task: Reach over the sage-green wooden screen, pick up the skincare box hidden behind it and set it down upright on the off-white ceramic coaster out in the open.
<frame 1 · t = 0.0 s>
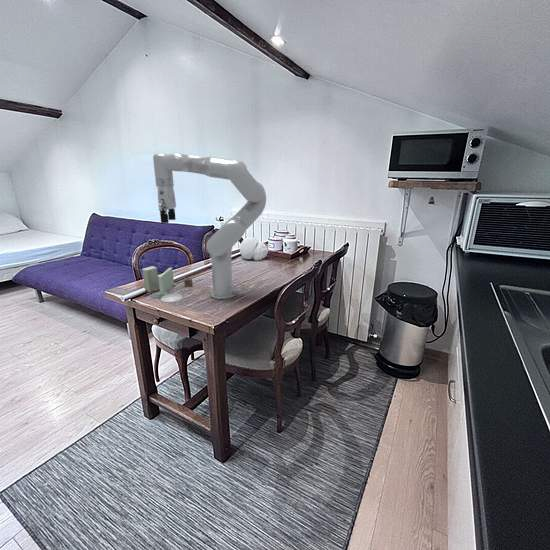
hand: (168, 221, 141), 37 cm above the table, fingers open, 9 cm apart
cauliflower: (253, 259, 218), on the table
coaster: (171, 298, 147), on the table
walnut cube: (188, 285, 165), on the table
skincare box: (152, 290, 158), on the table
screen: (167, 290, 158), on the table
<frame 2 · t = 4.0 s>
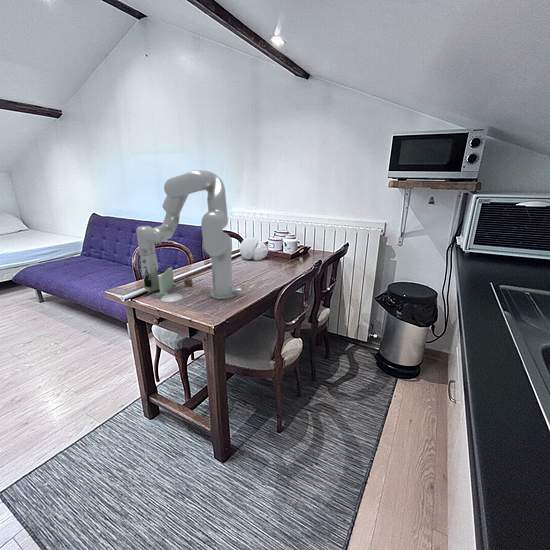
hand: (151, 283, 157), 3 cm above the table, fingers closed on skincare box, 7 cm apart
skincare box: (152, 290, 158), on the table, touching gripper
everything else where it was.
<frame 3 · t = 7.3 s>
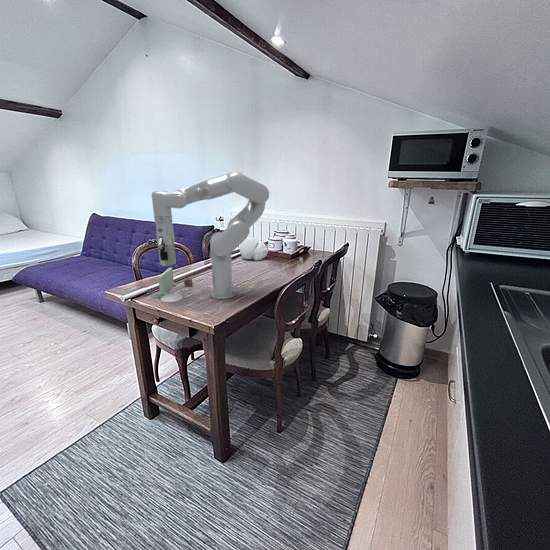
hand: (167, 257, 141), 21 cm above the table, fingers closed on skincare box, 7 cm apart
skincare box: (168, 264, 142), point 17 cm above the table, touching gripper
everything else where it was.
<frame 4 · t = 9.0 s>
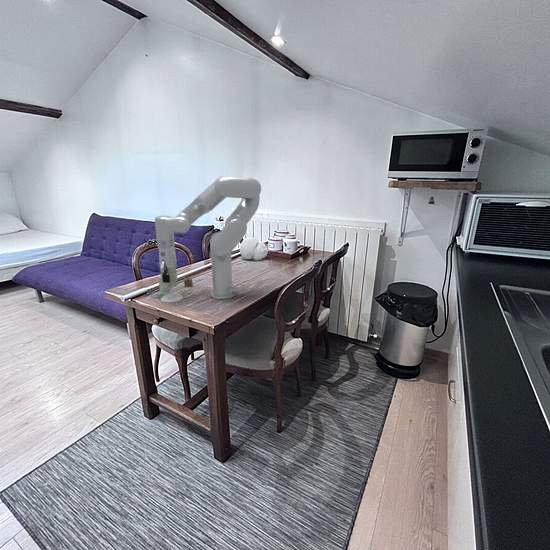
hand: (169, 279, 144), 10 cm above the table, fingers closed on skincare box, 7 cm apart
skincare box: (169, 286, 145), point 6 cm above the table, touching gripper
everything else where it was.
when the fingers open (5 cm above the table, at t = 10.7 s): skincare box stays where it is, resting on coaster.
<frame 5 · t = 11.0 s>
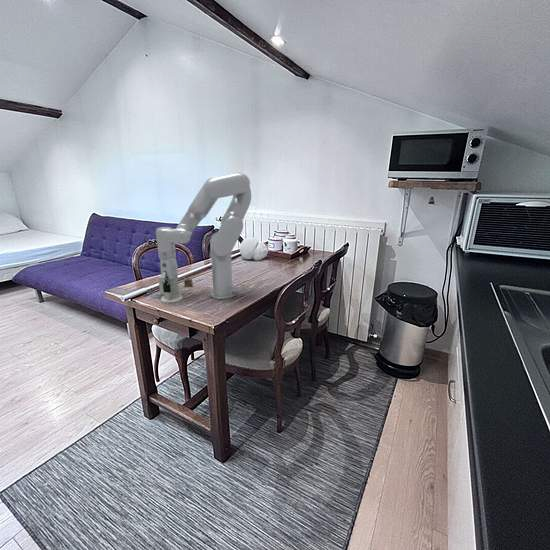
hand: (170, 288, 146), 5 cm above the table, fingers open, 9 cm apart
skincare box: (172, 298, 147), resting on coaster
everything else where it was.
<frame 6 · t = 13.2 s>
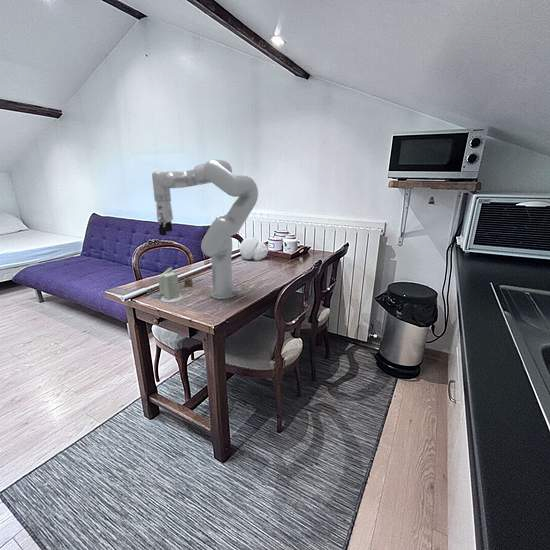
hand: (166, 233, 153), 29 cm above the table, fingers open, 9 cm apart
nothing on the table moved.
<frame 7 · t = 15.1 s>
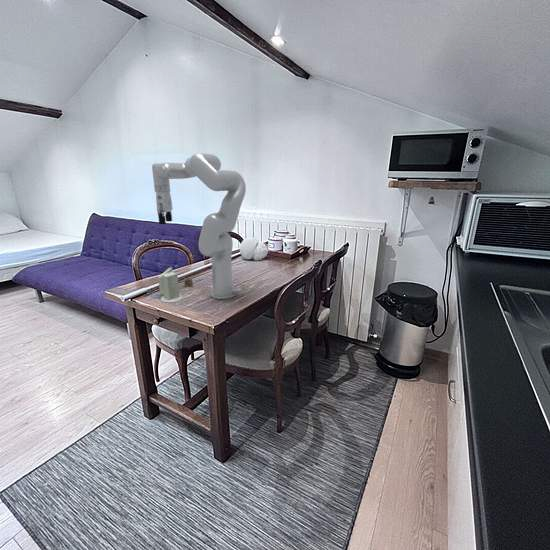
hand: (165, 222, 160), 33 cm above the table, fingers open, 9 cm apart
nothing on the table moved.
at the end: skincare box 0.2 cm from the coaster (horizontally); skincare box tilted 0°; the gripper is holding nothing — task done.
